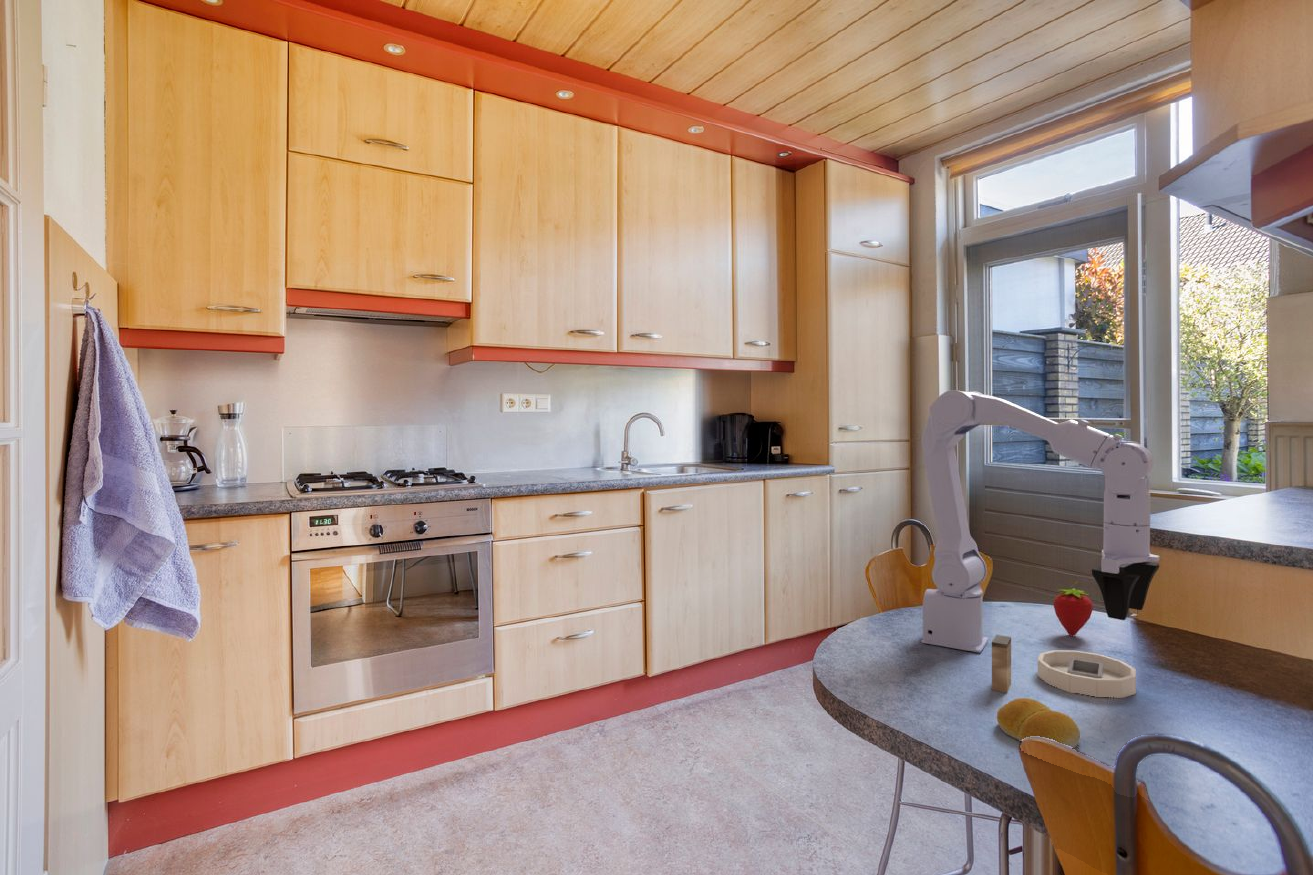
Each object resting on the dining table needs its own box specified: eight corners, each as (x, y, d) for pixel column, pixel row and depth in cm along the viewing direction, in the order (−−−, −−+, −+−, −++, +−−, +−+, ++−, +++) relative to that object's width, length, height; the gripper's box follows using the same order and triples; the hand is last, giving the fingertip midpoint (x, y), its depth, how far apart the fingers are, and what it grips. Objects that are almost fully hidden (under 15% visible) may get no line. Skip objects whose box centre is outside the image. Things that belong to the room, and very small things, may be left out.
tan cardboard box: (991, 689, 98) (991, 642, 98) (996, 680, 101) (996, 634, 101) (1007, 692, 97) (1007, 644, 97) (1011, 683, 100) (1011, 636, 100)
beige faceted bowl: (1034, 685, 99) (1034, 668, 99) (1043, 660, 109) (1043, 645, 109) (1136, 704, 92) (1136, 686, 92) (1135, 676, 102) (1135, 659, 102)
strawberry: (1097, 634, 122) (1097, 579, 121) (1086, 644, 116) (1086, 587, 116) (1060, 627, 126) (1060, 574, 126) (1047, 636, 121) (1048, 581, 120)
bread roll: (1047, 760, 78) (1047, 726, 78) (985, 727, 87) (985, 696, 87) (1098, 746, 81) (1098, 714, 81) (1033, 716, 90) (1033, 686, 89)
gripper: (1142, 532, 93) (1141, 629, 93) (1173, 521, 102) (1172, 609, 103) (1085, 526, 98) (1084, 618, 99) (1119, 516, 108) (1118, 600, 108)
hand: (1125, 613), depth 101 cm, fingers open, 7 cm apart
